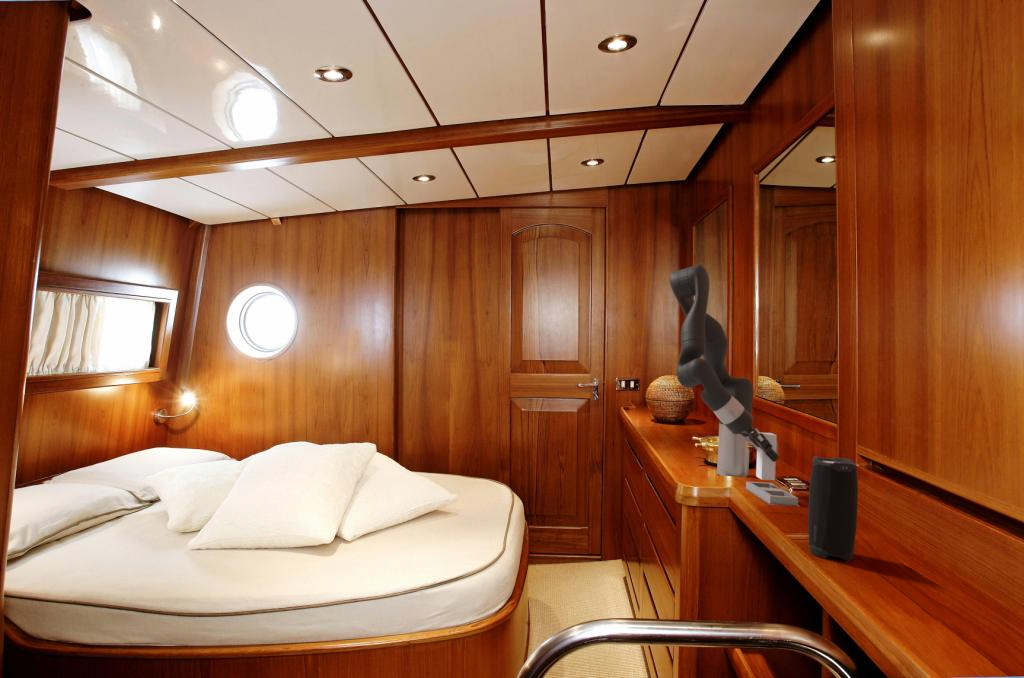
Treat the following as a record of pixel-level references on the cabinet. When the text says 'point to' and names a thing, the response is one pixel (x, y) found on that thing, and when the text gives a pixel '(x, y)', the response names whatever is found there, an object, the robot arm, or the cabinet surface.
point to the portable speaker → (833, 507)
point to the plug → (766, 460)
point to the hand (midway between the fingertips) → (772, 457)
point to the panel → (772, 494)
